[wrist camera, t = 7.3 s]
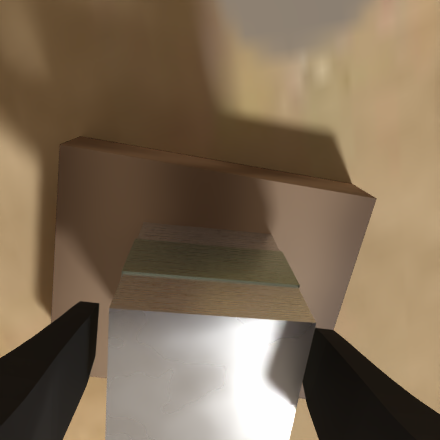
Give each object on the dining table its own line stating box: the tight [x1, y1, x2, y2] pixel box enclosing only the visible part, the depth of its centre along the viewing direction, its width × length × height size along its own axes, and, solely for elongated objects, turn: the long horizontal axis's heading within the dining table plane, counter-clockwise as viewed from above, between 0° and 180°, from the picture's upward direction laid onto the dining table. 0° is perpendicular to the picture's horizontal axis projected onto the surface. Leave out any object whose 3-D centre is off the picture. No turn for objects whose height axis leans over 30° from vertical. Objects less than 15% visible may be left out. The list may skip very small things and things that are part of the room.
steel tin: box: [105, 222, 316, 440], centre depth 13 cm, size 5×5×6 cm
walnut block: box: [51, 136, 376, 399], centre depth 17 cm, size 12×10×3 cm
